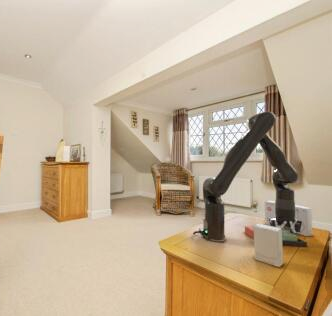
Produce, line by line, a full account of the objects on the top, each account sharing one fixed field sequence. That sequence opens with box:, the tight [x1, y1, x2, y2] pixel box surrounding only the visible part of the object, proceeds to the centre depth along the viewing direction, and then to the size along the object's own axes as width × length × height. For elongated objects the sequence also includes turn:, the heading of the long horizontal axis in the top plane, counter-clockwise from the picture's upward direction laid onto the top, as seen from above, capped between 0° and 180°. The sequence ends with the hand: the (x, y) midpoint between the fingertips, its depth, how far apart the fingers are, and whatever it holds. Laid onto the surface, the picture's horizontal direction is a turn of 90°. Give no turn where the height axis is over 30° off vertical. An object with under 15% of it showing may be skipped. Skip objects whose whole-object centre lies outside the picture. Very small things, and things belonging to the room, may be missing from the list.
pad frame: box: [282, 237, 308, 248], centre depth 106 cm, size 12×19×2 cm, turn 170°
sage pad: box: [282, 229, 298, 241], centre depth 102 cm, size 6×8×4 cm
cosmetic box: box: [252, 223, 284, 268], centre depth 82 cm, size 8×6×15 cm
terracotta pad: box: [244, 225, 254, 239], centre depth 110 cm, size 6×8×4 cm
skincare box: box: [264, 200, 313, 237], centre depth 119 cm, size 21×5×16 cm, turn 17°
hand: (285, 239), depth 102 cm, fingers closed on sage pad, 5 cm apart
